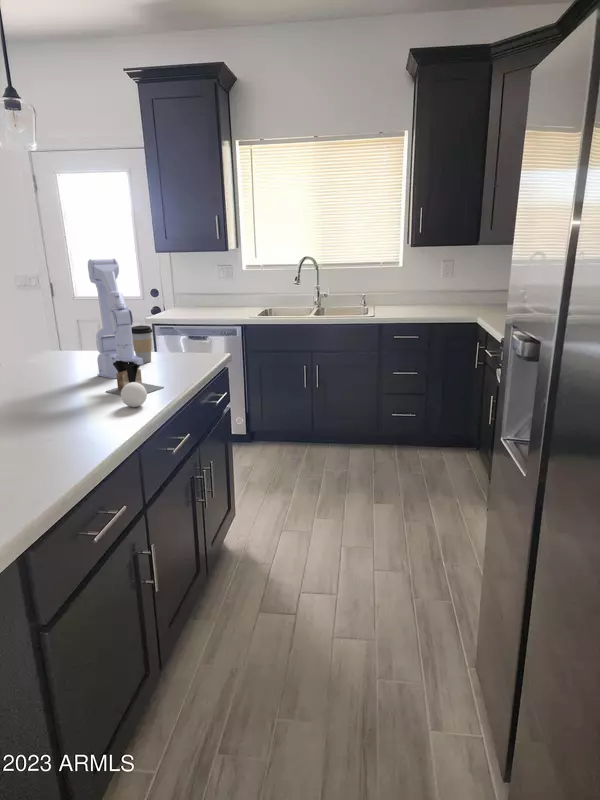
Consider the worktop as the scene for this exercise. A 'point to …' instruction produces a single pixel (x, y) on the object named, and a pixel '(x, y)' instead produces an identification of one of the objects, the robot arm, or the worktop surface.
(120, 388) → the brown wooden block
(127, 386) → the ball
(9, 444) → the worktop surface
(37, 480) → the worktop surface
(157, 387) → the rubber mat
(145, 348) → the coffee cup
